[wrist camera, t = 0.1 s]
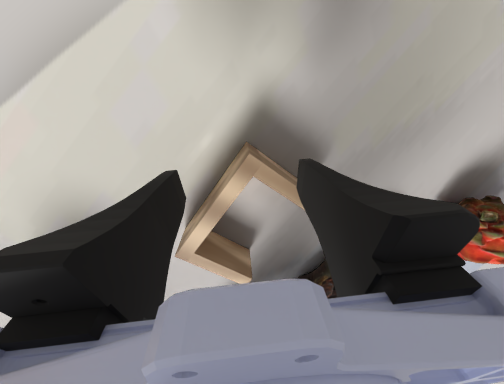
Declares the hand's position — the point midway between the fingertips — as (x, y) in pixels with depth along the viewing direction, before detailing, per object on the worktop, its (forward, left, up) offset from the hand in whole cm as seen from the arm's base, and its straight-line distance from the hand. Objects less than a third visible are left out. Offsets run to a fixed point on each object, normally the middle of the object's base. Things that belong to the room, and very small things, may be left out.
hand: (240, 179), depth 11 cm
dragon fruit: (+10, -32, -11) cm, 35 cm away
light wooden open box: (-6, -6, -11) cm, 14 cm away
